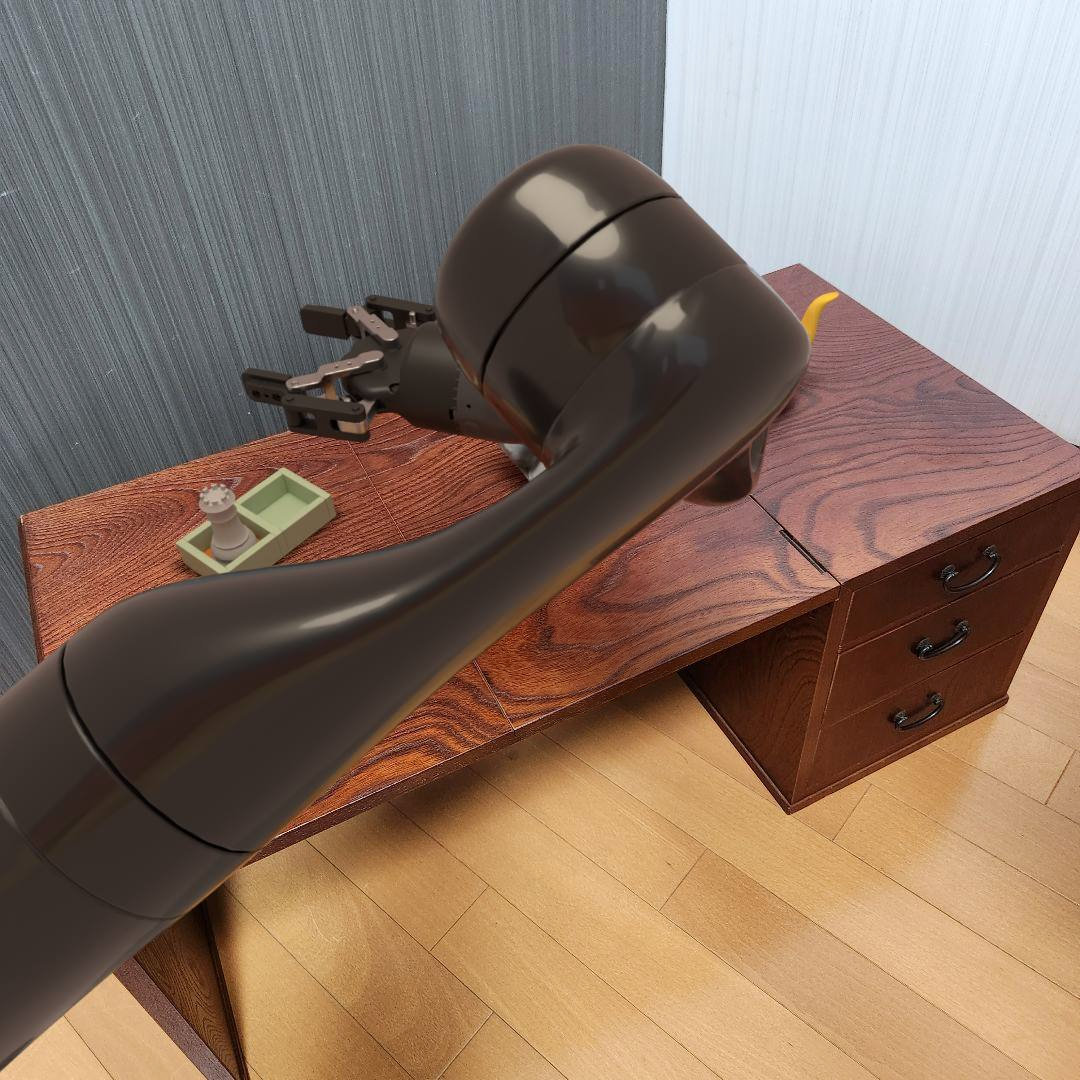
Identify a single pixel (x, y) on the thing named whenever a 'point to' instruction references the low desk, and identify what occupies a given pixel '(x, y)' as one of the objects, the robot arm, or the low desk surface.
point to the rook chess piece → (225, 525)
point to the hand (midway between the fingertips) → (275, 349)
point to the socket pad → (265, 524)
